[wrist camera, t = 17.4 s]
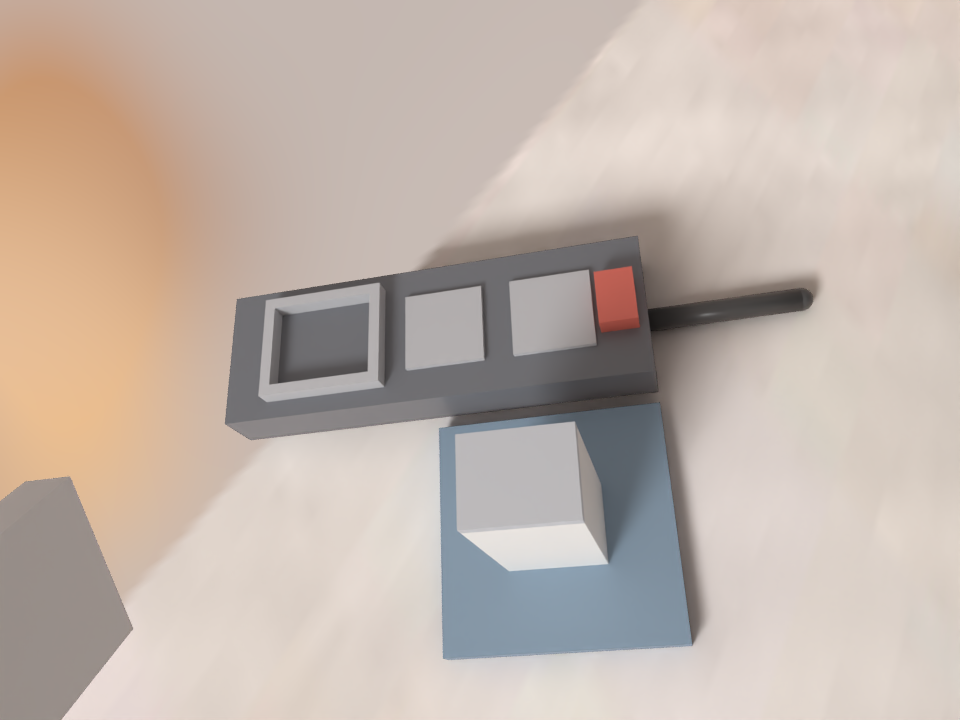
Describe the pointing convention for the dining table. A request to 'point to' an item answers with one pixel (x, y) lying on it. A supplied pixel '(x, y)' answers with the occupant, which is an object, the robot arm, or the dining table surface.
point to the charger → (530, 497)
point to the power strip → (459, 340)
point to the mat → (581, 589)
